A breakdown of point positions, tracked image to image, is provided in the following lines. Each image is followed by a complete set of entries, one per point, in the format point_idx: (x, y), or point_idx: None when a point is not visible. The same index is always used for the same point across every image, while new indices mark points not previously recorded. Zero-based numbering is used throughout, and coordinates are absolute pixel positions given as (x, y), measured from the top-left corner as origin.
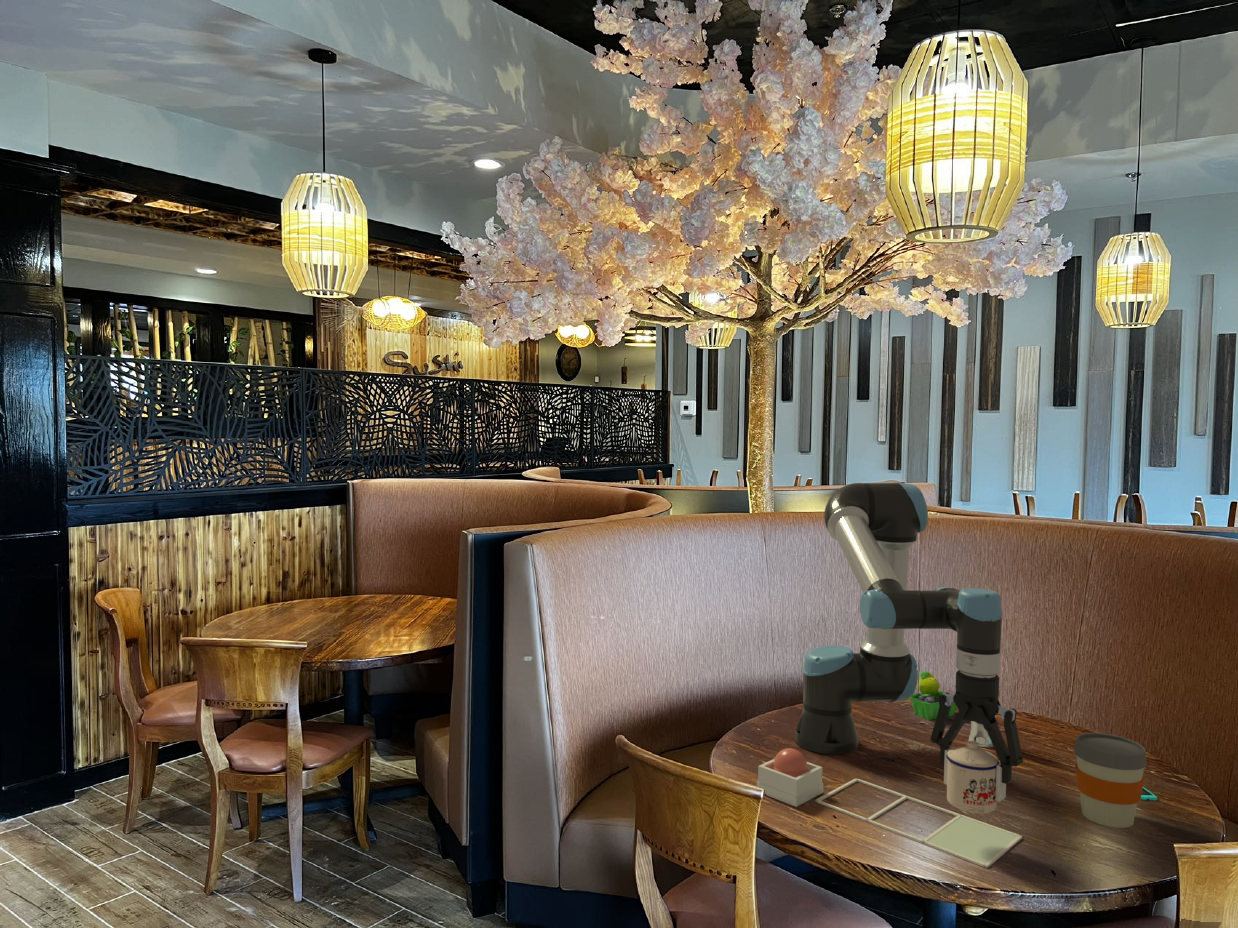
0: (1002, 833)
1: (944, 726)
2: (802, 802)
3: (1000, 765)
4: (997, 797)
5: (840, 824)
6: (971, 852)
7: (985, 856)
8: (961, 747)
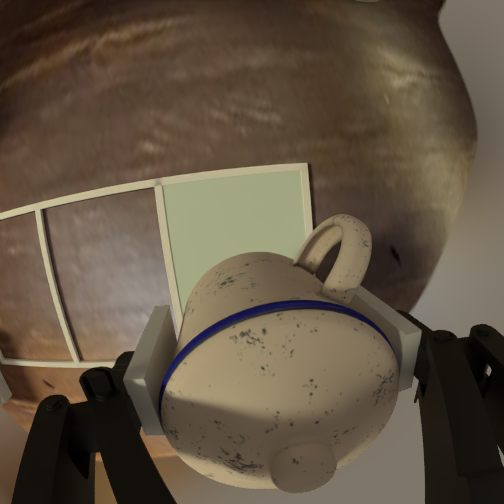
0: (271, 185)
1: (64, 474)
2: (4, 380)
3: (416, 399)
4: None
5: (73, 400)
6: None
7: None
8: (243, 471)
